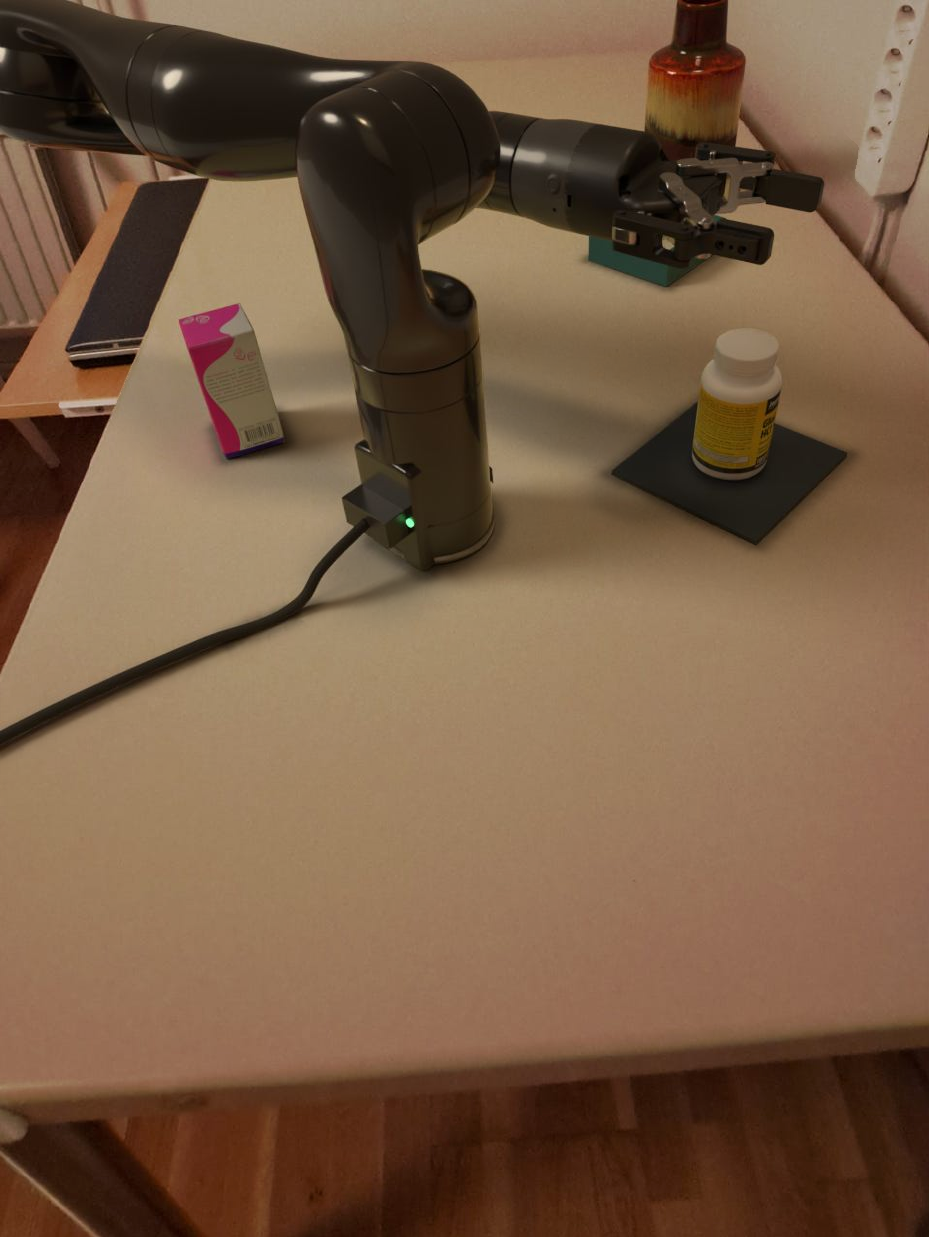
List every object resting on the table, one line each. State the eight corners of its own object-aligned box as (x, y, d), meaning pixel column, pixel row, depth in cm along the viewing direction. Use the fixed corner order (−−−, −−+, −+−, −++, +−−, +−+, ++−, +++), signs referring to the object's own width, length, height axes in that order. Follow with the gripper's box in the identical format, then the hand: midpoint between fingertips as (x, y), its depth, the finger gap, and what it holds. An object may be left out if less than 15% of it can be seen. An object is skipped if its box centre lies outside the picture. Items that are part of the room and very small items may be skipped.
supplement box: (271, 410, 90) (241, 299, 82) (286, 443, 86) (256, 331, 78) (212, 426, 89) (176, 316, 81) (224, 461, 85) (187, 349, 77)
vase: (739, 175, 117) (764, -16, 103) (717, 212, 111) (740, 14, 96) (655, 166, 121) (668, -19, 106) (629, 202, 115) (639, 10, 100)
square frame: (666, 287, 100) (669, 255, 98) (588, 260, 106) (588, 229, 103) (722, 248, 105) (726, 217, 102) (644, 224, 110) (646, 194, 108)
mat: (756, 544, 73) (756, 541, 72) (611, 474, 80) (611, 470, 79) (846, 456, 79) (848, 452, 79) (705, 398, 86) (705, 394, 86)
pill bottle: (767, 485, 76) (791, 367, 68) (689, 481, 78) (704, 364, 70) (766, 440, 81) (788, 323, 72) (692, 436, 82) (706, 320, 74)
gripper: (630, 193, 76) (825, 232, 69) (536, 268, 69) (743, 321, 62) (635, 92, 71) (847, 124, 64) (533, 163, 64) (760, 207, 56)
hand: (796, 221), depth 63 cm, fingers open, 8 cm apart
